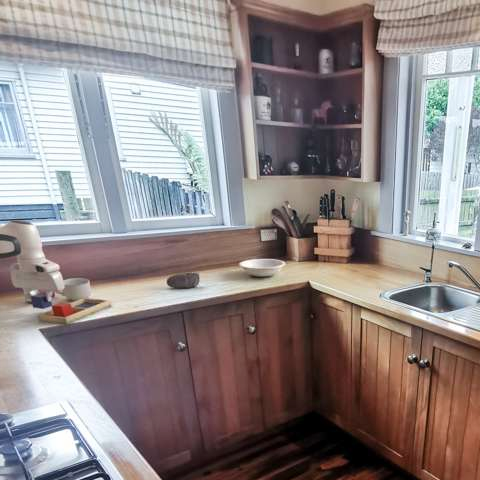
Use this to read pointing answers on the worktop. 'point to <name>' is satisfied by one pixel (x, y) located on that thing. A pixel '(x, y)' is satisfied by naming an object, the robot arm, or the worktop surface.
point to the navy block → (40, 301)
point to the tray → (76, 311)
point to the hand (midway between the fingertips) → (42, 300)
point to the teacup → (76, 289)
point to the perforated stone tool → (183, 280)
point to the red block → (62, 309)
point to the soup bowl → (262, 267)
